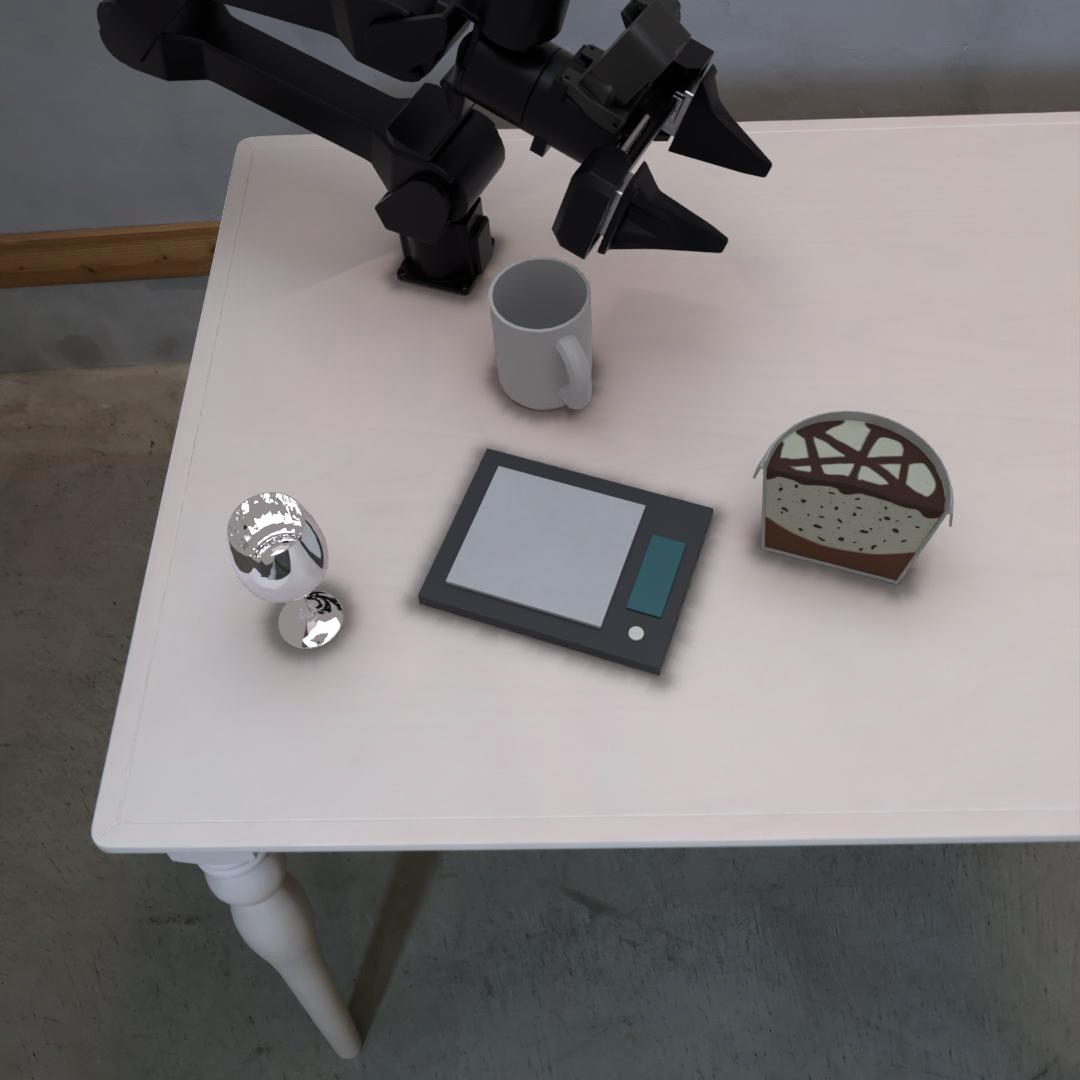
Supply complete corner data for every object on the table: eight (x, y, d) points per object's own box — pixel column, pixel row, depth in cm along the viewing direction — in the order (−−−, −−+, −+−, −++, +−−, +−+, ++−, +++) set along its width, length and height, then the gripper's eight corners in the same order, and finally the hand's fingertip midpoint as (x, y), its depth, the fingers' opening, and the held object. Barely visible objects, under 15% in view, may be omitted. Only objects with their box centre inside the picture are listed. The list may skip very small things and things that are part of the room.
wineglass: (286, 672, 74) (236, 582, 64) (257, 605, 77) (204, 508, 67) (366, 634, 76) (329, 540, 65) (334, 569, 78) (294, 470, 68)
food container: (935, 516, 78) (975, 429, 70) (920, 590, 75) (960, 508, 67) (760, 474, 81) (778, 384, 72) (739, 543, 78) (756, 459, 69)
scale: (419, 603, 77) (416, 593, 76) (488, 455, 83) (486, 444, 82) (659, 675, 73) (660, 666, 72) (712, 515, 79) (714, 504, 78)
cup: (562, 327, 89) (558, 243, 82) (628, 412, 84) (631, 331, 77) (482, 364, 88) (470, 281, 80) (545, 453, 83) (539, 374, 75)
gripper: (513, 50, 62) (757, 190, 62) (637, -82, 73) (846, 37, 73) (468, 200, 72) (681, 322, 71) (584, 63, 82) (770, 169, 82)
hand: (748, 207), depth 74 cm, fingers open, 9 cm apart
